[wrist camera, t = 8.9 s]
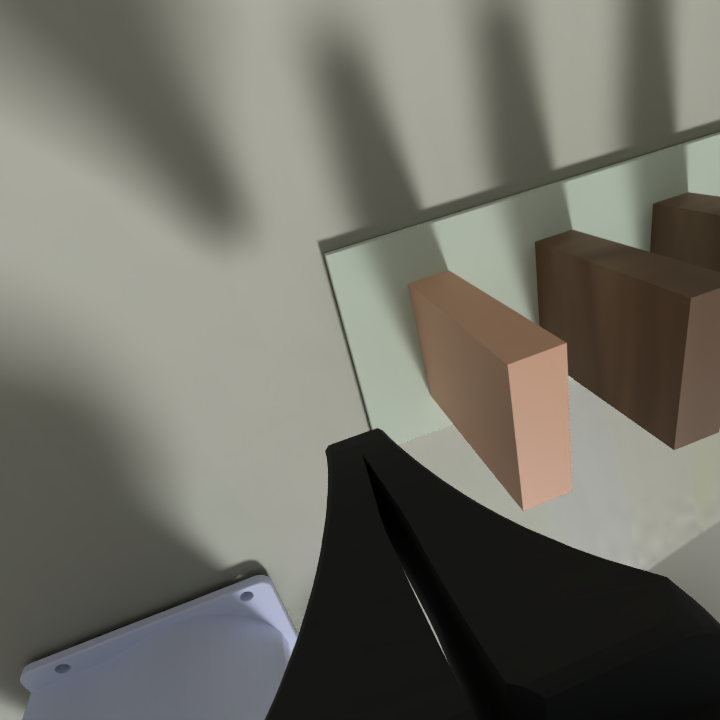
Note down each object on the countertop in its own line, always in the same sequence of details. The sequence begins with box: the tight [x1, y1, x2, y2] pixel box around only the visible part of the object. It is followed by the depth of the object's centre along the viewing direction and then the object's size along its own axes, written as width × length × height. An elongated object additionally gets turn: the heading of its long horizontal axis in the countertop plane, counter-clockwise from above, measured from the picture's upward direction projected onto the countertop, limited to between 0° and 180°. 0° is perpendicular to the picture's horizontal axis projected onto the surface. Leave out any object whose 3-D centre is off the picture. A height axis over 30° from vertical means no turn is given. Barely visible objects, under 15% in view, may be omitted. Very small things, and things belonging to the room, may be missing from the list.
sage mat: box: [324, 132, 720, 445], centre depth 18 cm, size 24×8×1 cm, turn 103°
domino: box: [535, 230, 720, 450], centre depth 14 cm, size 1×4×6 cm, turn 13°
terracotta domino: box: [408, 270, 572, 511], centre depth 14 cm, size 1×4×6 cm, turn 13°
